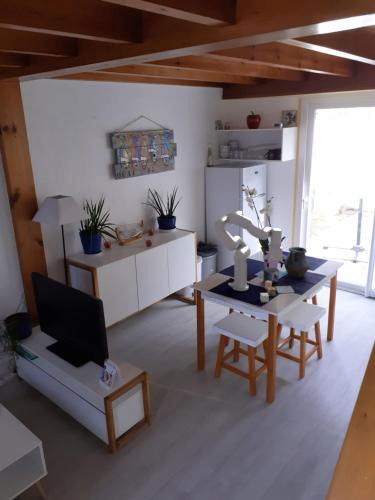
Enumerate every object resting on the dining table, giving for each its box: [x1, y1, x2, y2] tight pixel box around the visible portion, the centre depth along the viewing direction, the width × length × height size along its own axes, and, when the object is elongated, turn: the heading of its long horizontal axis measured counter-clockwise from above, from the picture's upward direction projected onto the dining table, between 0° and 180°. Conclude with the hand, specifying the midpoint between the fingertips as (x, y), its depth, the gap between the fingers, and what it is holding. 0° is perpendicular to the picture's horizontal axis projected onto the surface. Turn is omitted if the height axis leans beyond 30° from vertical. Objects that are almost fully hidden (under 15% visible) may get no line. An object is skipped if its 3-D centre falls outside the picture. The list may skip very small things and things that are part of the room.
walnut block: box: [266, 286, 276, 297], centre depth 307 cm, size 5×5×5 cm
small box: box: [263, 267, 280, 284], centre depth 329 cm, size 11×6×10 cm, turn 105°
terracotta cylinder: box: [264, 281, 273, 291], centre depth 317 cm, size 5×5×6 cm
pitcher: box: [284, 246, 311, 279], centre depth 336 cm, size 21×22×25 cm
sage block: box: [259, 292, 270, 303], centre depth 298 cm, size 5×5×5 cm
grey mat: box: [274, 285, 295, 294], centre depth 315 cm, size 12×12×1 cm
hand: (274, 267), depth 303 cm, fingers open, 9 cm apart
